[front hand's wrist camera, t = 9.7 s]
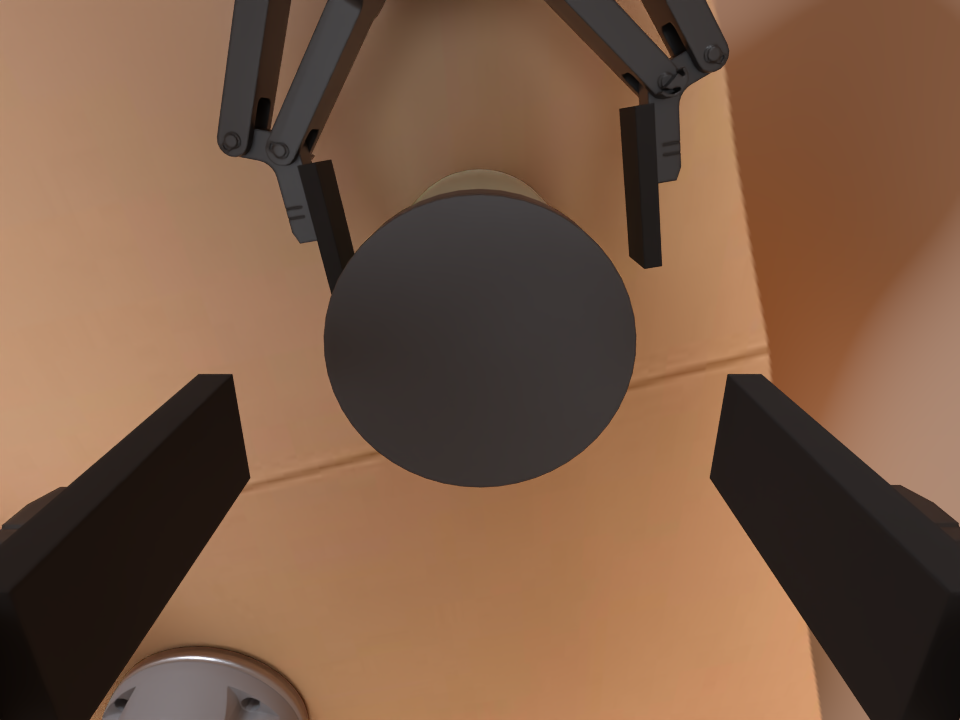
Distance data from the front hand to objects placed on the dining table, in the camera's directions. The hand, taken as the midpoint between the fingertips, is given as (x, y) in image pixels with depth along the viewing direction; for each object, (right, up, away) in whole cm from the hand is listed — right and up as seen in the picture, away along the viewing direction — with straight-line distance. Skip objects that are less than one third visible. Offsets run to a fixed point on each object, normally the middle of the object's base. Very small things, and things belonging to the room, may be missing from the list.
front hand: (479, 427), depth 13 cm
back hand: (+1, +5, +13) cm, 14 cm away
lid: (0, +2, +5) cm, 5 cm away
